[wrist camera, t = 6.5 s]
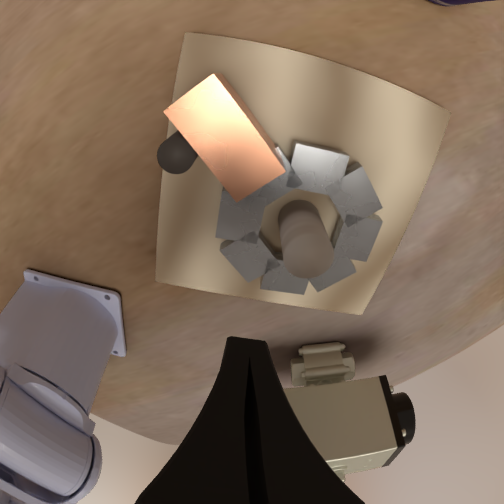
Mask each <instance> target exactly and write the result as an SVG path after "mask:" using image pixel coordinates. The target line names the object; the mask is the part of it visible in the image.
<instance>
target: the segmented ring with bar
mask: <svg viewBox="0 0 504 504" xmlns="http://www.w3.org/2000/svg"><path fill="white" fill-rule="evenodd" d="M163 112H164V113H165V114H166V115H167V117H168V118H169V119H170V120H171V122H172V123H173V124H174V125H175V127H176V128H177V129H178V130H179V131H180V133H181V134H182V135H183V136H184V138H185V139H186V140H187V141H188V143H189V144H190V145H191V146H192V148H193V149H194V150H195V151H196V152H197V154H198V155H199V156H200V157H201V159H202V160H203V161H204V162H205V164H206V165H207V166H208V167H209V169H210V170H211V171H212V172H213V174H214V175H215V176H216V177H217V179H218V180H219V181H220V183H221V184H222V185H223V189H222V194H221V201H220V208H219V215H218V222H217V229H216V236H215V238H221V239H227V240H225V241H224V242H222V243H221V245H220V252H221V253H222V254H223V255H224V256H225V258H226V259H227V260H228V261H229V262H230V263H231V264H232V265H233V267H234V268H235V269H236V270H237V271H238V272H239V273H240V274H241V276H242V277H243V278H244V279H245V280H246V281H247V282H248V283H249V282H251V281H253V280H254V279H256V278H258V277H260V276H261V279H260V289H264V290H271V291H278V292H285V293H293V294H300V295H304V293H305V291H306V288H307V285H308V282H309V281H310V283H311V284H312V285H313V287H314V288H315V290H316V291H317V292H320V291H322V290H323V289H325V288H327V287H329V286H331V285H333V284H335V283H337V282H339V281H341V280H343V279H344V278H346V277H348V276H350V275H352V274H354V273H356V272H357V271H356V269H355V266H354V264H353V262H352V261H351V259H352V260H358V261H364V262H367V259H368V257H369V255H370V252H371V250H372V248H373V245H374V243H375V240H376V238H377V236H378V233H379V231H380V228H381V226H382V223H383V221H382V220H381V218H380V217H379V215H375V214H373V213H375V212H376V211H378V210H380V209H382V208H383V207H382V205H381V203H380V201H379V198H378V196H377V194H376V192H375V190H374V188H373V186H372V184H371V182H370V180H369V178H368V176H367V174H366V172H365V170H364V168H363V167H362V165H361V164H360V163H359V162H356V163H354V164H353V165H351V166H349V167H347V164H348V160H349V157H350V156H349V155H348V154H347V153H346V152H343V151H339V150H335V149H331V148H327V147H323V146H319V145H315V144H310V143H306V142H301V141H297V140H294V143H293V147H292V151H291V155H290V160H288V158H287V157H286V155H285V154H284V152H283V151H282V149H281V148H280V147H279V145H278V144H277V143H276V144H274V143H273V141H272V140H271V138H270V137H269V136H268V134H267V133H266V131H265V130H264V129H263V127H262V126H261V124H260V123H259V122H258V120H257V119H256V118H255V116H254V115H253V114H252V112H251V111H250V109H249V108H248V107H247V105H246V104H245V103H244V101H243V100H242V99H241V97H240V96H239V95H238V93H237V92H236V91H235V90H234V88H233V87H232V86H231V84H230V83H229V82H228V80H227V79H226V78H225V77H224V75H223V74H222V73H213V74H212V75H210V76H209V77H208V78H206V79H205V80H203V81H202V82H201V83H199V84H198V85H197V86H195V87H194V88H193V89H191V90H190V91H189V92H187V93H186V94H185V95H183V96H182V97H181V98H180V99H178V100H177V101H176V102H175V103H173V104H172V105H171V106H170V107H168V108H167V109H166V110H165V111H163ZM346 167H347V168H346ZM293 189H300V190H305V191H310V192H315V193H320V194H325V195H329V196H330V198H331V200H332V202H333V203H334V205H335V207H336V208H337V210H338V212H339V213H340V218H339V221H338V224H337V227H336V230H335V233H334V236H333V239H332V242H331V245H332V247H333V250H334V260H333V263H332V265H331V266H330V268H329V269H328V270H327V271H326V272H325V273H323V274H322V275H320V276H317V277H314V278H308V279H304V278H299V277H296V276H294V275H292V274H291V273H289V272H288V270H287V269H286V267H285V265H284V261H283V253H279V252H275V251H274V249H273V248H272V247H271V245H270V244H269V243H268V242H267V240H266V239H265V238H264V236H263V235H262V234H261V233H260V227H261V222H262V218H263V213H264V209H265V206H267V205H268V204H270V203H272V202H273V201H275V200H277V199H278V198H280V197H282V196H283V195H285V194H287V193H288V192H290V191H292V190H293Z"/></svg>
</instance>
